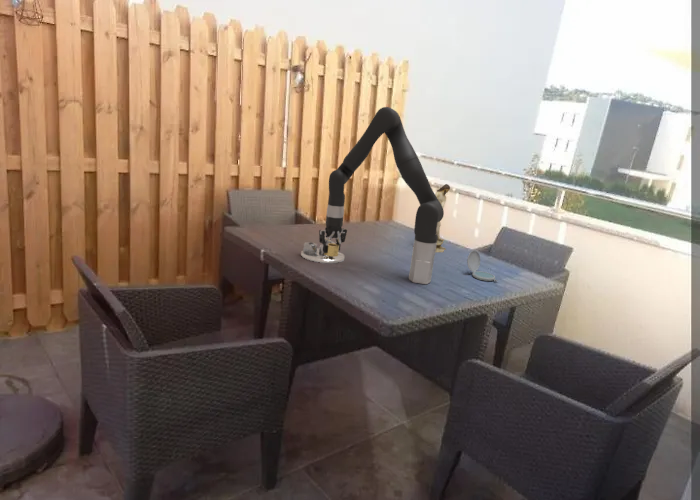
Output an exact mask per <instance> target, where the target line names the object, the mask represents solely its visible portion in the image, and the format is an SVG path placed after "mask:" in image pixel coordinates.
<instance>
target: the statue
mask: <svg viewBox="0 0 700 500" xmlns="http://www.w3.org/2000/svg"><path fill="white" fill-rule="evenodd" d="M450 190H451V187H450V185H449V184H448V183H446V184H444V185H442V186H441V187H440V188H439V189H437V190H436V192H435V193H434V194H435V195H436V197H437V199H438V200H439V202H440V204H441V205H442V207H443V209H444V208H445V205H446V202H447V196H446V195H447V193H448V192H449V191H450ZM441 226H442V225H441V221H440V222H438V223H437V229H436V234H437V236H438V239H437V245H436V251H435V254H436V253H444V252H445V251H446V250H447V248H446V247H444V246H442V245H443V243H444V241H445V239H443V238H442V237H441V236H440V231H441V230H440V228H441ZM413 246H414V244H413V245H412V247H413ZM444 250H445V251H444Z"/></svg>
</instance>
